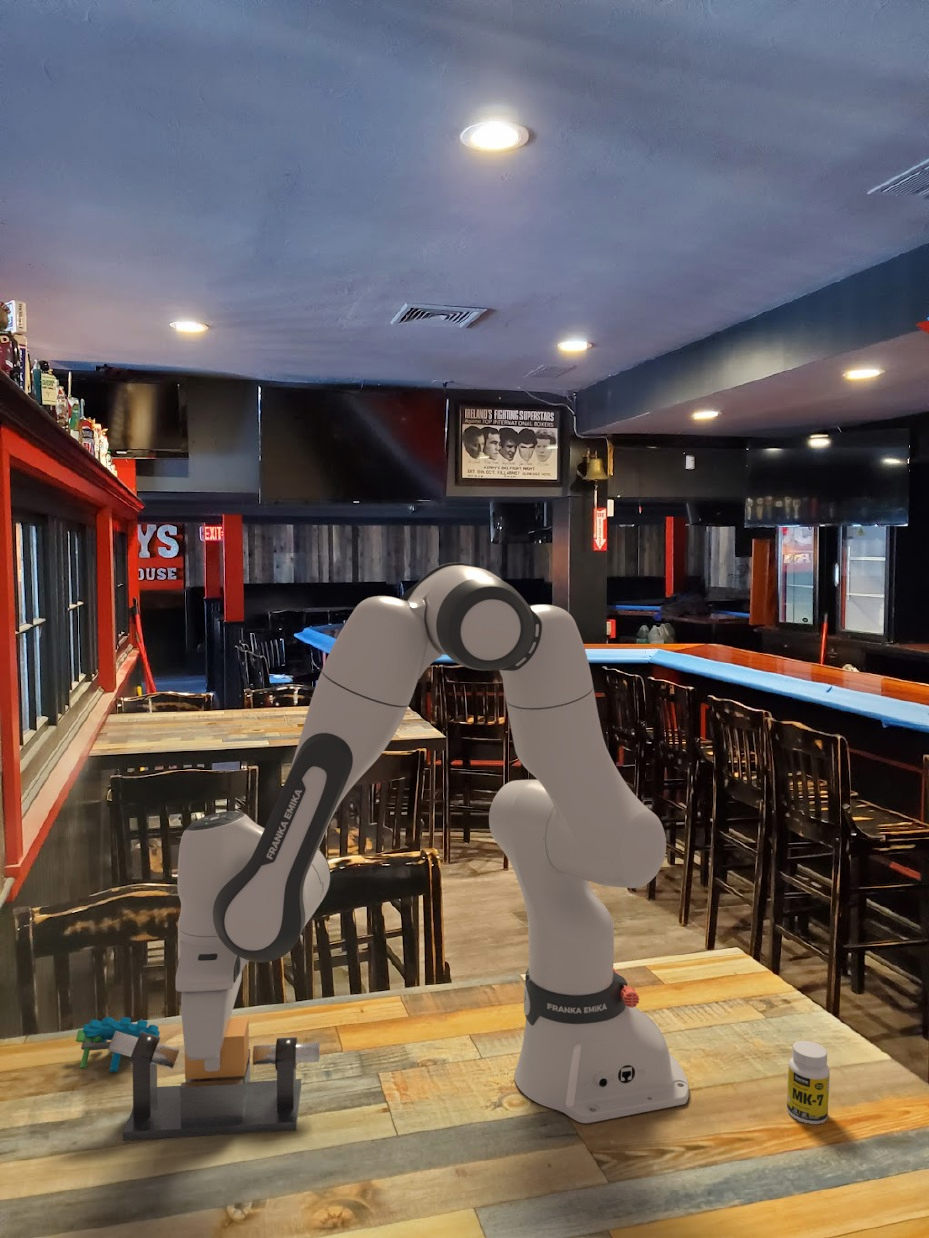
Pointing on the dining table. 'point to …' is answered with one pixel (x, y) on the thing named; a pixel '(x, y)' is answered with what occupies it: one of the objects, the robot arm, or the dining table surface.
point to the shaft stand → (212, 1092)
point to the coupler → (226, 1054)
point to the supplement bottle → (808, 1083)
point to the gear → (109, 1036)
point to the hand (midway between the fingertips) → (216, 1054)
